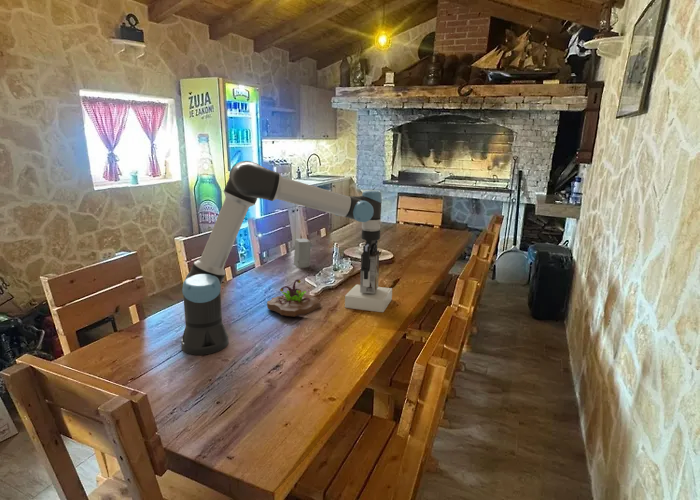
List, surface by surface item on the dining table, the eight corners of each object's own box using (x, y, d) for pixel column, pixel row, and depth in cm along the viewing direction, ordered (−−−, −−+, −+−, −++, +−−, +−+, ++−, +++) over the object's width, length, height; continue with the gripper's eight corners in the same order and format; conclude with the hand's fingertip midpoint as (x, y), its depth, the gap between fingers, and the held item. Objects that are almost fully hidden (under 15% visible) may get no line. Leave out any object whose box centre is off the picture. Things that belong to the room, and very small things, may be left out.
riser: (383, 312, 167) (383, 299, 165) (344, 307, 171) (345, 295, 170) (391, 299, 181) (392, 287, 180) (356, 295, 186) (356, 283, 185)
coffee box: (363, 286, 180) (364, 249, 176) (378, 287, 179) (379, 250, 175) (359, 292, 171) (360, 254, 168) (375, 294, 170) (376, 255, 166)
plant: (329, 307, 172) (329, 281, 170) (290, 319, 159) (289, 291, 156) (299, 295, 186) (298, 270, 183) (260, 305, 173) (260, 279, 170)
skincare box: (293, 267, 230) (293, 238, 226) (305, 265, 233) (305, 237, 229) (298, 271, 222) (298, 241, 219) (311, 269, 225) (311, 240, 222)
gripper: (373, 235, 158) (371, 291, 163) (386, 225, 178) (384, 276, 183) (354, 233, 160) (352, 289, 165) (369, 224, 181) (367, 274, 186)
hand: (369, 282), depth 174 cm, fingers closed on coffee box, 9 cm apart
